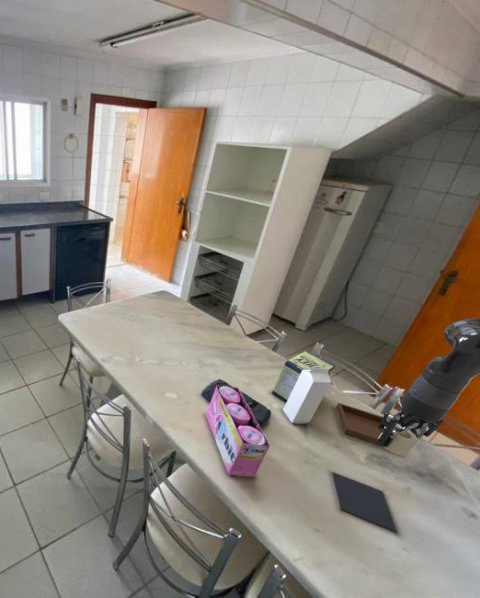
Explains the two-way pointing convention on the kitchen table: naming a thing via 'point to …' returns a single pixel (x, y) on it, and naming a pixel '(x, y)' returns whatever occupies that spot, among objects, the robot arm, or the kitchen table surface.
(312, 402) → the milk
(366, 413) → the tray
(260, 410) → the black pouch
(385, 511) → the mat
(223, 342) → the kitchen table surface
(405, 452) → the masking tape
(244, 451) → the gum box
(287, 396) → the protein box
